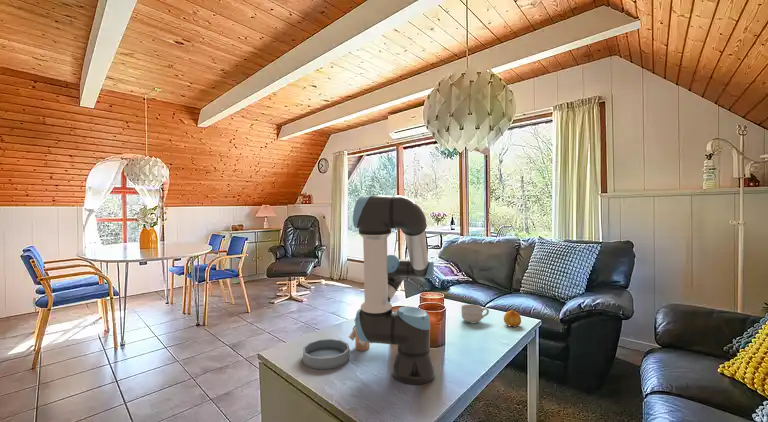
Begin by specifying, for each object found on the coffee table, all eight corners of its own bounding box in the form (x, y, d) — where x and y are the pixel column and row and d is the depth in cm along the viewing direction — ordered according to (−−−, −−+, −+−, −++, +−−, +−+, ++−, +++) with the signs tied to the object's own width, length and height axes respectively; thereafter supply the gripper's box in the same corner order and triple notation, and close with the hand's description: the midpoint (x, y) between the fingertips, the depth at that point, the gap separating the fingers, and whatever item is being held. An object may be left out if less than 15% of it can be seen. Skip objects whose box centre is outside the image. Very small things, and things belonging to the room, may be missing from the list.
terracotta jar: (373, 348, 148) (373, 320, 147) (361, 352, 143) (361, 323, 143) (363, 343, 153) (363, 316, 152) (351, 347, 148) (351, 319, 148)
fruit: (515, 325, 169) (518, 309, 172) (499, 323, 174) (502, 307, 178) (522, 330, 174) (524, 315, 177) (506, 328, 179) (508, 312, 183)
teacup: (460, 323, 178) (460, 308, 178) (462, 317, 188) (462, 302, 188) (488, 326, 174) (488, 311, 174) (488, 319, 184) (489, 305, 184)
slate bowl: (358, 359, 137) (358, 348, 137) (319, 374, 125) (319, 362, 125) (331, 345, 150) (331, 335, 150) (294, 358, 138) (294, 347, 138)
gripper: (403, 304, 151) (375, 352, 140) (374, 296, 165) (346, 339, 154) (394, 294, 147) (365, 343, 137) (365, 286, 161) (337, 330, 150)
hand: (355, 341), depth 145 cm, fingers closed on terracotta jar, 6 cm apart
